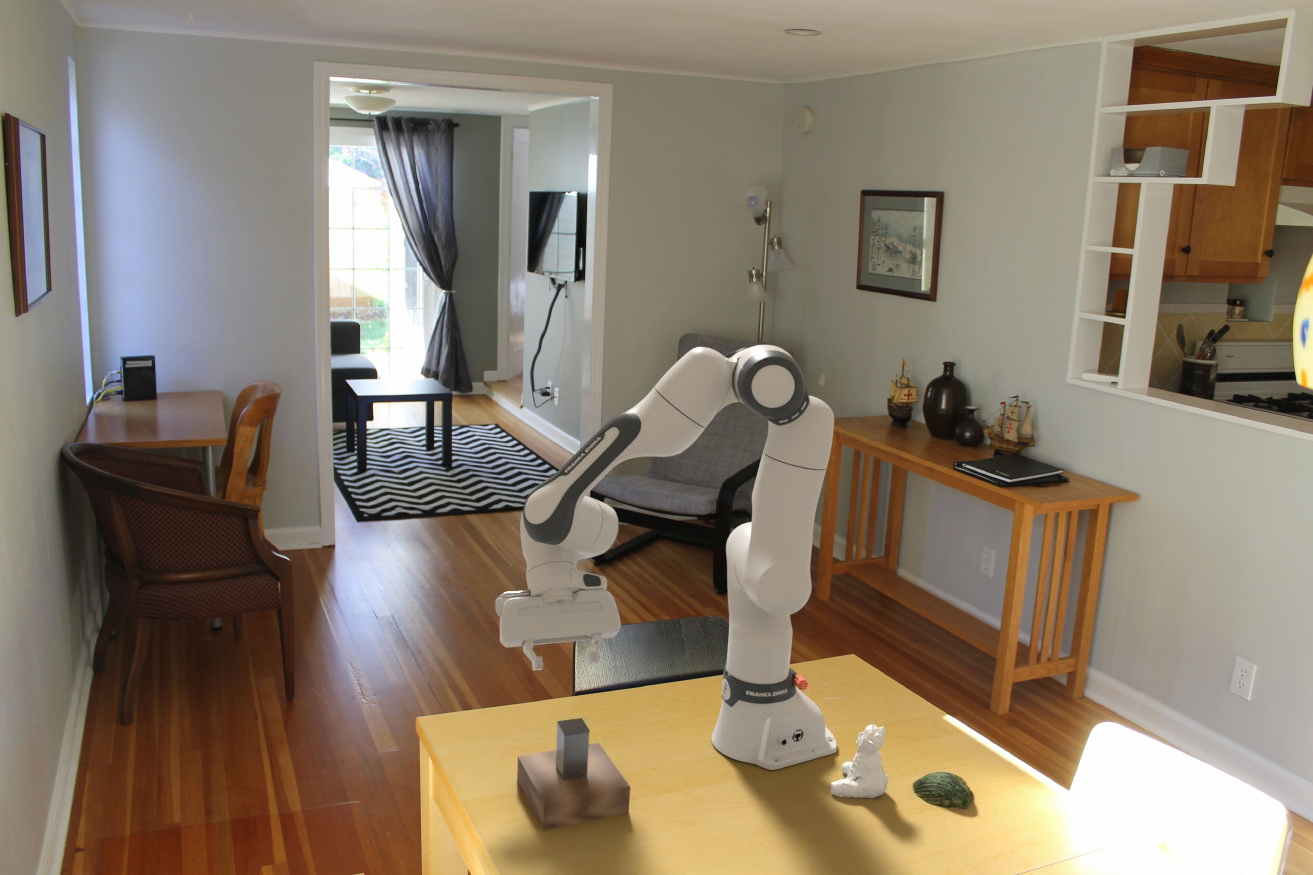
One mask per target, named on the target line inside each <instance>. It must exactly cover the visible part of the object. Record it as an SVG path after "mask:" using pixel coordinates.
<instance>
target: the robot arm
mask: <svg viewBox="0 0 1313 875" xmlns="http://www.w3.org/2000/svg"><path fill="white" fill-rule="evenodd" d="M733 403H734V404H735V403H741V404H743V405H744V406H745V407H746V408H747V409H748V410H750V411H751V412H753V413H754V414H756V416H757V415H758V416H759V417H761V418H763V419H765V420H767V423H768V430H767V437H766V440H765V442H764V443H765V444H764V448H763V450H762V451H763V452H762V454H761V458H760V462H759V467H758V470H757V473H756V478H755V481H754V485H753V486H754V487H753V489H752V493H751V505H752V506H751V507H752V511H751V521H749V522H746V523H745V522H744V523H742V524H740V525H739V526H737V527H736V528H734V529H733V530H732V531H731V533H730V534H729V536H728V538H727V540H726V544H725V553H726V567H727V569H726V570H727V571H726V572H727V573H726V579H727V580H726V581H727V583H726V584H727V604H728V619H729V620H728V624H729V625H728V638H727V639H728V641H727V642H728V643H727V656H726V663H725V665H724V666H723V675H722V682H721V698H722V700H721V705H720V710H719V714H718V718H717V721H716V724H715V728H714V729H713V732H712V734H711V743H712V745H713V746H714V747H715V749H716V750H717V751H719V752H720V753H721V754H723V755H725V756H726V757H729V758H731V759H733V760H736V761H739V762H743V763H747V764H753V765H757V766H758V767H761V768H763V769H766V770H770V771H775V770H779V769H783V768H787V767H789V766H793V765H797V764H801V763H805V762H808V761H811V760H815V759H818V758H822V757H825V756H830V755H832V754H835V753H837V751H838V750H837V749H838V747H837V746H838V744H837V740H836V738H835V736H834V735H833V733H832V731H831V730H829V728H828V727H827V726H826V722H825V718H824V715H823V712H822V711H821V709H820V707H819V706H818V705H817V704H816V703H815V701H813V700H812V699H811V698H810V697H809V696H807V695H806V694H805V693H803V691H804V690H806V689H807V688H808V687H809V681H808V680H807V679H806V678H804V676H803V675H798V673H797V672H796V671H795V669H793V668H791V667H790V665H791V664H790V663H791V654H792V645H793V644H792V641H793V627H792V622H791V621H792V620H791V615H793V614H795V613H797V612H799V611H800V610H801V609H802V608H804V606H805V605H806V604H807V603H808V601H809V599H810V597H811V594H812V577H811V562H812V561H811V560H812V549H813V540H814V539H813V538H814V526H815V518H816V513H817V512H816V510H817V506H818V503H819V499H820V495H821V491H822V487H823V483H824V479H825V475H826V472H827V468H828V464H829V461H830V457H831V450H832V446H833V440H834V439H833V438H834V428H835V414H834V411H833V410H832V408H831V407H830V406H829V405H828V403H826V402H825V401H824V400H822V399H821V398H818V397H816V396H813V395H809V391H808V389H807V385H806V380H805V377H804V373H803V371H802V369H801V367H800V365H799V364H798V362H797V361H796V359H794V358H793V357H792V355H791V354H790V353H789V352H788V351H787V350H785V349H784V348H781V347H779V346H776V345H773V344H770V343H764V342H763V343H762V342H759V343H754V344H749V345H746V346H744V347H741V348H740V349H737V350H735V351H732V352H730V353H727V354H725V355H723V354H722V353H720V352H719V351H717V350H716V349H713V348H711V347H707V346H697V347H694V348H692V349H690V350H689V351H687V352H686V353H685V354H684V355H683V356H682V357H680V358H679V360H677V361H676V362H675V364H673V365H672V366H671V367H670V368H669V369H668V370H667V371H666V372H665V373H664V375H663V376H662V377H661V378H660V380H659V381H658V382H657V383H656V384H655V385H654V386H653V388H652V389H651V390H650V391H649V392H648V393H647V395H645V397H644V398H643V399H641V400H640V401H639V402H638V403H637V404H636V405H634V406H633V407H631V408H630V409H628V410H626V411H625V412H622V413H619V414H617V415H616V416H614V417H613V418H611V419H610V420H608V421H607V423H605V424H603V426H602V427H601V428H600V429H598V431H596V433H594V434H593V435H592V436H591V437H590V438H589V440H587V442H586V443H585V444H584V445H582V447H581V448H580V449H578V451H577V452H575V453H574V454H573V456H571V458H570V459H569V460H568V461H567V462H566V463H564V465H562V466H561V468H559V470H558V471H556V472H555V473H554V474H553V475H551V476H550V477H549V478H547V479H545V480H544V481H543V482H541V483H540V484H538V485H537V486H536V487H535V488H534V489H533V490H532V491H531V492H530V493H529V494H528V496H527V497H526V499H525V501H524V505H523V508H522V512H521V516H520V523H519V525H520V527H519V528H520V530H519V531H520V533H519V534H520V542H521V549H522V555H523V558H524V559H525V562H526V572H525V576H526V577H525V578H526V584H527V589H526V590H518V591H505V592H502V594H499V595H498V596H497V597H496V599H495V601H494V606H495V608H494V609H495V613H496V615H497V616H498V617H499V642H500V643H501V645H502V646H503V647H505V648H514V647H515V648H517V647H522V650H523V651H522V652H523V653H524V655H525V656H526V657H527V658H528V660H530V662H531V665H532V671H535V672H536V671H542V670H543V669H544V662H543V660H544V659H543V656H537V654H536V652H535V651H534V650H533V648H534V646H537V645H547V644H548V645H549V644H560V643H571V642H579V641H589V640H590V643H591V645H592V646H594V648H593V650H591V651H589V652H588V654H587V656H586V657H587V660H588V665H589V666H590V665H591V666H592V665H599V663H600V655H599V651H600V648H601V646H602V643H603V639H612V638H615V637H616V636H617V634H618V633H619V631H620V630H621V627H622V621H621V618H620V617H621V615H620V614H619V610H618V605H617V604H616V603H617V602H616V601H615V598H614V596H613V595H612V594H611V592H610V591H608V590H607V587H608V580H607V578H606V577H605V576H603V575H600V574H596V573H592V572H588V571H587V572H586V571H583V570H581V569H578V567H577V563H578V562H579V561H582V560H589V559H592V558H595V557H598V556H601V555H603V554H605V553H606V552H608V551H609V550H610V549H611V548H612V547H613V546H614V544H615V543H616V541H617V539H618V537H619V533H620V532H619V531H620V520H619V516H618V514H617V512H616V510H615V508H613V507H612V506H610V505H609V504H607V503H605V502H603V501H600V500H599V499H596V498H593V497H592V496H588V493H589V492H591V490H593V489H594V488H595V487H596V485H597V484H599V483H600V482H601V480H602V479H604V477H605V476H607V474H608V473H609V472H611V471H612V469H613V468H614V467H616V466H617V465H619V464H621V463H622V462H624V461H628V460H630V459H634V458H645V457H659V458H666V457H673V456H676V455H679V454H682V453H683V452H684V451H686V450H688V449H689V448H690V447H691V446H692V445H694V443H696V441H697V439H698V438H699V437H700V436H701V435H702V434H703V432H704V431H705V429H706V428H707V427H708V425H710V423H711V422H712V421H713V419H715V418H714V417H716V415H717V414H718V413H720V411H721V410H723V409H724V408H725V407H726V406H728V405H730V404H733Z"/></svg>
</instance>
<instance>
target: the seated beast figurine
mask: <svg viewBox="0 0 1313 875" xmlns="http://www.w3.org/2000/svg"><path fill="white" fill-rule="evenodd" d="M885 735H886V728H885V726H879V727H878V726H877V725H876V724H872V723H871V724H869V725H867V726H866V727H865V729H864V731H861V732H859V733H858V738H857V740H856V741H855V744H856V745H857V746H858V747H857V749H856V753H855V755H854V757H853V761H845V762H844V763H843V764H842V765H841V772H842V773H844V775H845V774H846V777H845V778H841V779H838V780H836V781H833V782H831V783H830V794H832V796H834V795H835V796H834V797H838V796H839V797H838V798H841V797H842V798H850V797H853V799H855V798H856V799H857V798H858V799H863V798H864V799H875V798H878V797H879V796H882V795H883V794H884V793H885V791H887V790H888V783H889V781H888V780H889V777H888V774H887V773H886V771H885V769H884V766H882V756H881V754H880V749H881V748H882V747H883V745H884V743H885Z"/></svg>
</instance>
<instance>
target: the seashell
mask: <svg viewBox="0 0 1313 875" xmlns="http://www.w3.org/2000/svg"><path fill="white" fill-rule="evenodd" d="M970 788H971V787H970V786H969V785H968V783H967V781H965V780H964V778H962V777H961V776H959V775H958V774H955V773H952V772H947V771H935V772H931V773H928V774H925V775H924V776H921V777H920V778H918V779H916V780H915V781H914V782H913V783H912V791H913V790H914V791H913V793H914V794H915V793H916V794H915V795H917V796H916V797H917V798H919V799H921V800H922V801H923V802H925V803H927V804H930V805H932V806H938V807H943V808H947V809H949V808H958V809H961V810H962V809H963V810H966V809H968V808H969V806H970V803H971V802H972V801H973V800H974V796H975V795H974V792H973V791H972V790H971V789H970Z"/></svg>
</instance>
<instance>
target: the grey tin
mask: <svg viewBox="0 0 1313 875" xmlns="http://www.w3.org/2000/svg"><path fill="white" fill-rule="evenodd" d="M556 724H557V727H556V728H557V729H556V730H557V731H556V749H555V750H556V768H557V770H558V772H559V774H560V776H561V778H562V780H567V779H574V778H580V777H587V768H588V746H589V744H590V743H589V742H590V740H589V739H590V732H591V731H590V728H589V727H588V725H587V723H586V722H585V719H583V717H578V718H569V719H565V720H558V721H556Z"/></svg>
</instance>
